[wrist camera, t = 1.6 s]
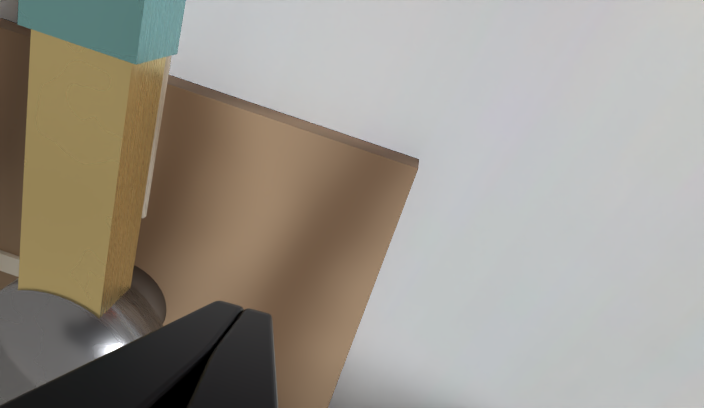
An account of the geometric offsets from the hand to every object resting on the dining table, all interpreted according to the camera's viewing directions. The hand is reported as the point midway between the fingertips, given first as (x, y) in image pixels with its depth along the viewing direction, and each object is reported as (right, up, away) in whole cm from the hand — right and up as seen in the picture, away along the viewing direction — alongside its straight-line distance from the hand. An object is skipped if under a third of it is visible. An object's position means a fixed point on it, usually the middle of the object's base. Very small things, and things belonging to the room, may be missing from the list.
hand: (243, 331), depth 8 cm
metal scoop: (-6, +2, +9) cm, 11 cm away
